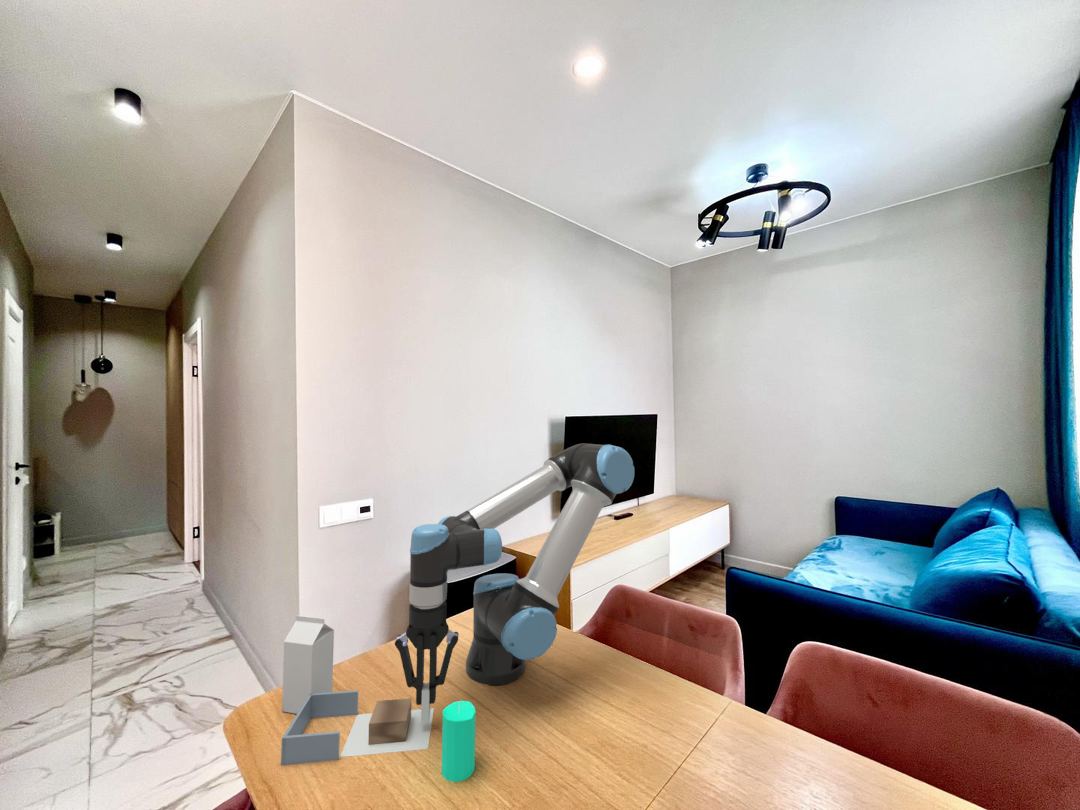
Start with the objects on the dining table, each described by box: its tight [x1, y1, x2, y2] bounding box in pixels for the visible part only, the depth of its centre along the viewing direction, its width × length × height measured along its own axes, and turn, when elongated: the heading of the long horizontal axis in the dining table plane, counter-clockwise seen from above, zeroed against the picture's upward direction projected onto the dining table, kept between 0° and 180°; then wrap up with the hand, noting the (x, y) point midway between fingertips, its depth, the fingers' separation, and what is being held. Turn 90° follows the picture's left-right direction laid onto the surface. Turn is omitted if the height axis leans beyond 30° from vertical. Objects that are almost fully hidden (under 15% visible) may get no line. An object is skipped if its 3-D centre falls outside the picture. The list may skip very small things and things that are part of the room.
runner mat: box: [339, 707, 435, 758], centre depth 88 cm, size 16×12×1 cm
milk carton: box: [281, 615, 335, 715], centre depth 97 cm, size 7×7×19 cm
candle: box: [441, 700, 476, 783], centre depth 79 cm, size 6×6×12 cm
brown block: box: [368, 697, 413, 745], centre depth 89 cm, size 7×7×4 cm
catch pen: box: [280, 690, 359, 766], centre depth 87 cm, size 10×13×5 cm
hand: (425, 718), depth 89 cm, fingers closed
